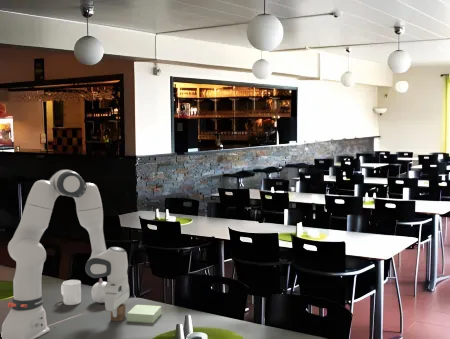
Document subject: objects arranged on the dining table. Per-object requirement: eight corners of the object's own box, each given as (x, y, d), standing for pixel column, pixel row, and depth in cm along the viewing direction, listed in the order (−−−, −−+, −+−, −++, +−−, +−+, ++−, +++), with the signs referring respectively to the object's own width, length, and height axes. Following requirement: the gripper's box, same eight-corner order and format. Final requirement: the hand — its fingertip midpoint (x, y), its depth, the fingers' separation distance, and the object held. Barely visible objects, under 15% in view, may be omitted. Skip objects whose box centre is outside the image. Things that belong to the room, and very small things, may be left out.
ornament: (91, 306, 263) (91, 282, 262) (91, 300, 273) (90, 276, 272) (113, 305, 266) (113, 280, 265) (112, 298, 276) (111, 275, 275)
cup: (71, 306, 264) (70, 285, 263) (54, 301, 271) (54, 281, 270) (84, 301, 271) (84, 281, 270) (68, 297, 277) (67, 277, 277)
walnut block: (121, 321, 244) (121, 307, 244) (110, 320, 245) (110, 307, 245) (125, 317, 249) (125, 304, 249) (115, 316, 250) (114, 303, 250)
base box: (153, 323, 242) (153, 314, 242) (127, 322, 244) (127, 313, 244) (161, 314, 254) (161, 306, 254) (136, 313, 256) (136, 304, 256)
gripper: (119, 277, 257) (119, 306, 258) (102, 289, 237) (102, 321, 238) (132, 277, 256) (132, 307, 257) (116, 290, 236) (116, 322, 237)
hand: (118, 314), depth 247 cm, fingers closed on walnut block, 5 cm apart
